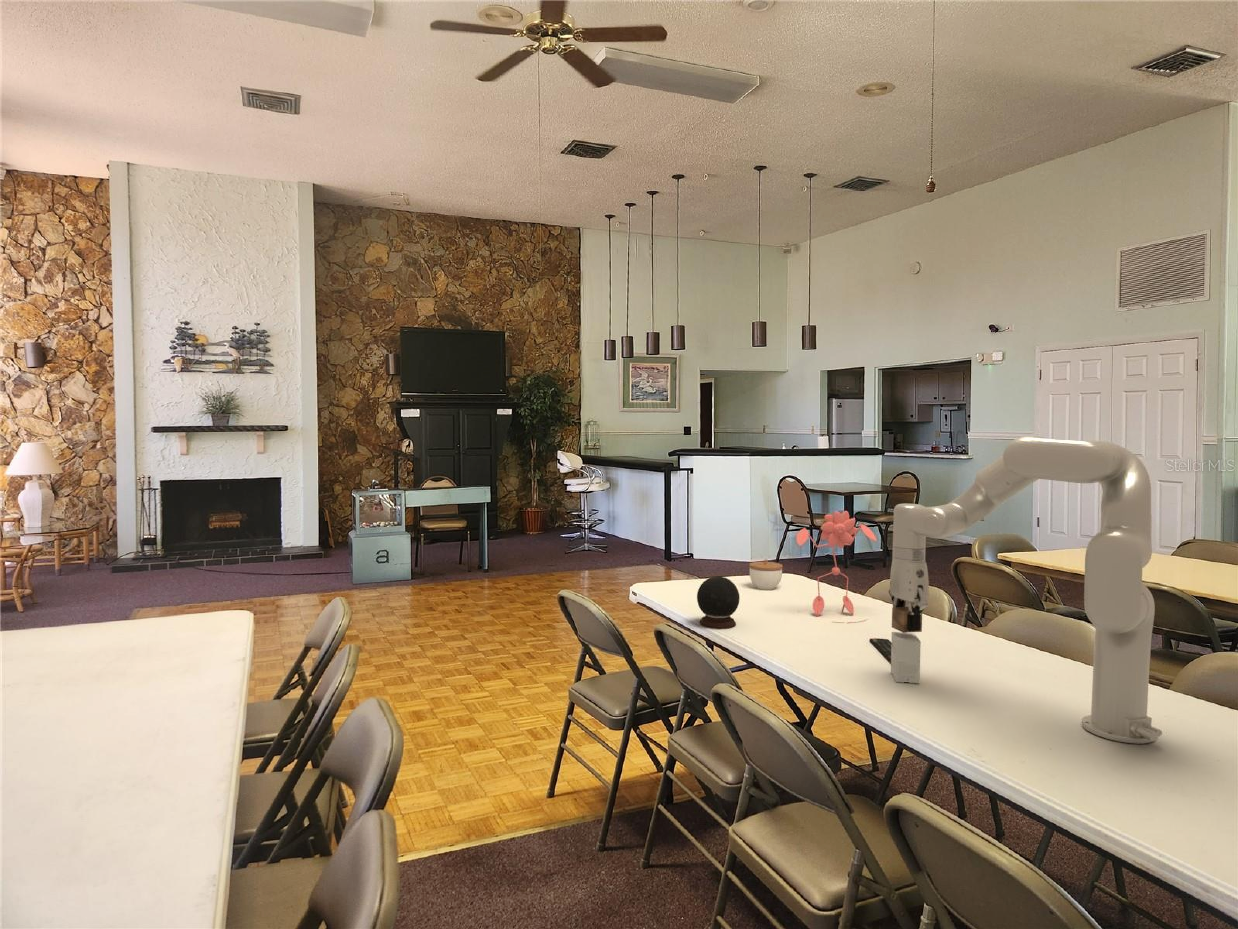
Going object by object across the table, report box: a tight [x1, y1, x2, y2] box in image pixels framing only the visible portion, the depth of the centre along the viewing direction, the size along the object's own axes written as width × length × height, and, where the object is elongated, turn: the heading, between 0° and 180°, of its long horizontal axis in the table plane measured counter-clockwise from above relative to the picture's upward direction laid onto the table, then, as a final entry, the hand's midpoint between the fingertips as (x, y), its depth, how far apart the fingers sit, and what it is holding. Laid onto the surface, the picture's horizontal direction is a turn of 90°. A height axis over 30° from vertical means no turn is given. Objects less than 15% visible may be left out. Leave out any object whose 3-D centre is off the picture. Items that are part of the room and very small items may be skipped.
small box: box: [890, 631, 922, 684], centre depth 186 cm, size 8×6×10 cm
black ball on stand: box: [696, 575, 740, 630], centre depth 235 cm, size 13×13×15 cm
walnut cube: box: [891, 606, 923, 633], centre depth 186 cm, size 5×5×5 cm
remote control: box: [869, 637, 892, 664], centre depth 207 cm, size 5×24×1 cm, turn 176°
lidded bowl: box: [748, 558, 784, 591], centre depth 289 cm, size 13×13×11 cm
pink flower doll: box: [796, 510, 878, 624], centre depth 245 cm, size 15×26×35 cm, turn 95°
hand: (906, 626), depth 186 cm, fingers closed on walnut cube, 4 cm apart
